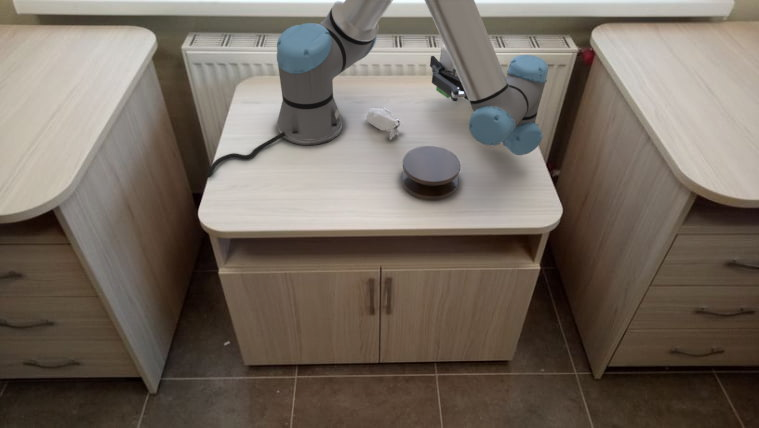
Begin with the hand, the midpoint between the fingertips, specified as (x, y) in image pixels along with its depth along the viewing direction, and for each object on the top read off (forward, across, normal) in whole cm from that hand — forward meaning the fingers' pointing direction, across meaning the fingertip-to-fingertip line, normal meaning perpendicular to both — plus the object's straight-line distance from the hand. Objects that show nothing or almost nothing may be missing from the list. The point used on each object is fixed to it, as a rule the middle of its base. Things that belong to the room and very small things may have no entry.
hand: (449, 58), depth 137 cm
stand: (-33, -19, -10) cm, 39 cm away
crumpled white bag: (-10, -22, -10) cm, 26 cm away
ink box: (-4, 0, -7) cm, 8 cm away
